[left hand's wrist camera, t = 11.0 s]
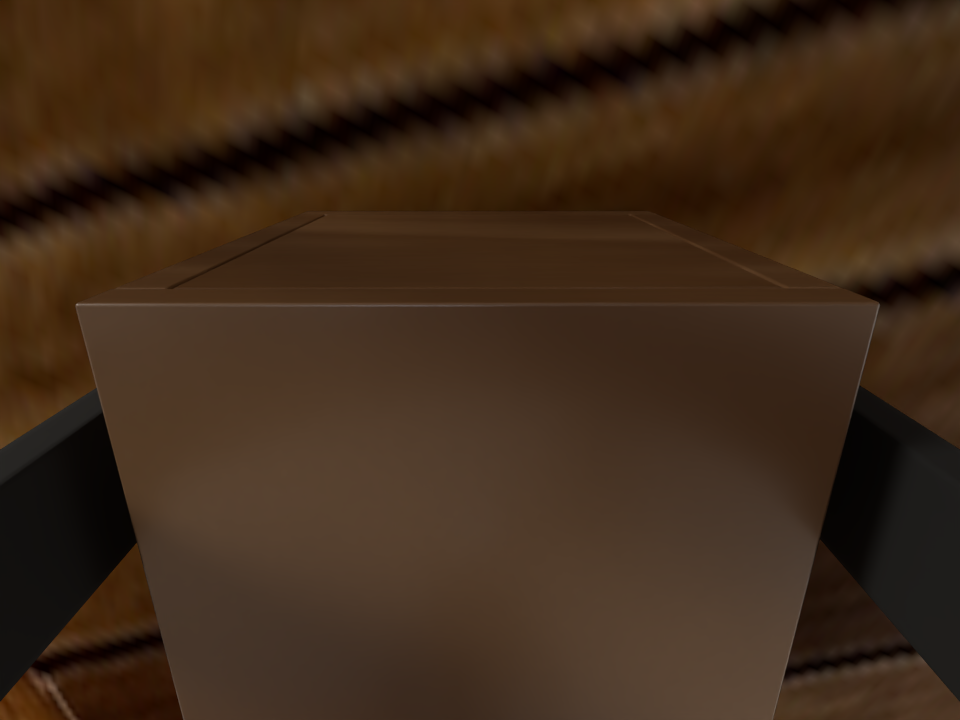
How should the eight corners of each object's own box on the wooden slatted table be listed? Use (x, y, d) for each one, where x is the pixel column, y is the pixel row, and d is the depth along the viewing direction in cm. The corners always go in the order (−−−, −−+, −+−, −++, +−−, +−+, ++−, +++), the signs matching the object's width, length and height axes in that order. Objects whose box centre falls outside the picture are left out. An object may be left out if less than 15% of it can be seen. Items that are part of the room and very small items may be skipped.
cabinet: (601, 684, 25) (686, 1058, 14) (356, 684, 24) (271, 1060, 14) (649, 210, 17) (882, 302, 7) (305, 211, 17) (72, 302, 7)
